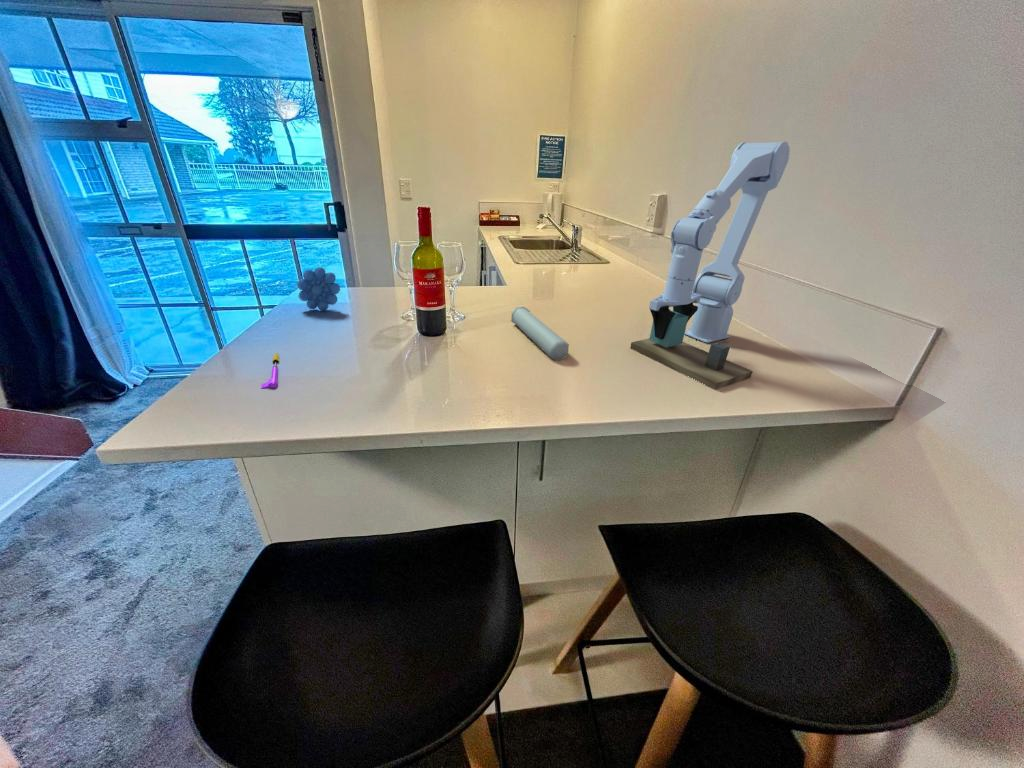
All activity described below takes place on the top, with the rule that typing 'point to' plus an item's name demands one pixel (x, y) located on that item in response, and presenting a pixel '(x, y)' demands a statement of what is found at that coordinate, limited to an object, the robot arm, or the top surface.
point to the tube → (540, 333)
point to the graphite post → (717, 356)
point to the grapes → (318, 288)
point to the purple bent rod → (273, 381)
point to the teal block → (672, 331)
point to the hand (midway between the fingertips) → (667, 336)
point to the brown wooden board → (692, 363)
